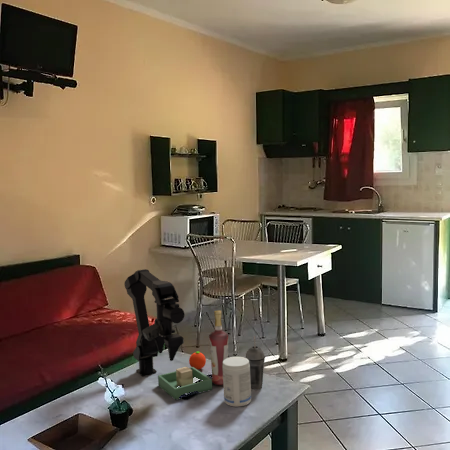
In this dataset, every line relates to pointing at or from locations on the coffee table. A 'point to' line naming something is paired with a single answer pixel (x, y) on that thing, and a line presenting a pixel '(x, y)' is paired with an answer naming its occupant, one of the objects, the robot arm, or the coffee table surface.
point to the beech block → (184, 376)
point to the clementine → (197, 360)
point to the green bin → (170, 385)
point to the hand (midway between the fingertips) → (165, 356)
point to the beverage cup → (256, 366)
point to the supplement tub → (236, 381)
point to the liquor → (218, 349)
